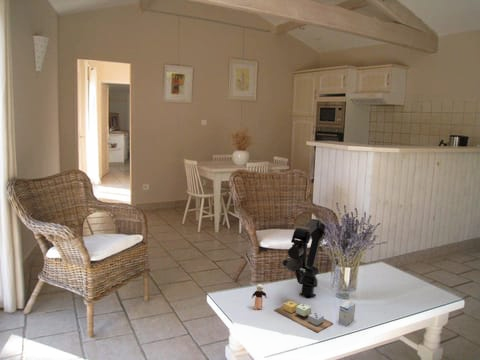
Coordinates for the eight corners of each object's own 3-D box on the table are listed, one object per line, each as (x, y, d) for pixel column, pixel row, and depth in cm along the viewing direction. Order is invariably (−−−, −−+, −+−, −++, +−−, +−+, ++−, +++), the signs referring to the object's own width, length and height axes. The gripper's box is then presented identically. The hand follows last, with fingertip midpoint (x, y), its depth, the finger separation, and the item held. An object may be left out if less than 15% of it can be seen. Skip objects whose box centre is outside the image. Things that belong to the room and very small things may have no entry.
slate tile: (314, 317, 189) (315, 311, 189) (323, 322, 186) (323, 315, 185) (308, 321, 186) (308, 315, 186) (316, 325, 182) (317, 319, 182)
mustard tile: (290, 306, 200) (290, 300, 200) (298, 309, 197) (298, 304, 196) (283, 309, 197) (283, 303, 196) (291, 313, 193) (291, 307, 193)
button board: (290, 303, 205) (290, 302, 205) (333, 324, 186) (333, 322, 186) (274, 310, 197) (274, 309, 197) (317, 333, 178) (317, 331, 178)
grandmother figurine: (252, 311, 196) (253, 286, 194) (250, 307, 200) (251, 283, 198) (267, 309, 198) (268, 285, 196) (264, 305, 202) (266, 282, 200)
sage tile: (302, 309, 195) (302, 303, 194) (310, 313, 191) (310, 307, 190) (295, 312, 191) (295, 306, 191) (303, 316, 188) (304, 310, 187)
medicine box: (345, 317, 193) (346, 300, 192) (354, 320, 191) (355, 303, 189) (338, 323, 187) (339, 305, 186) (347, 326, 185) (348, 308, 183)
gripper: (276, 251, 201) (274, 280, 203) (305, 262, 187) (303, 293, 190) (290, 246, 208) (289, 275, 211) (320, 257, 195) (318, 287, 197)
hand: (299, 282), depth 202 cm, fingers closed
